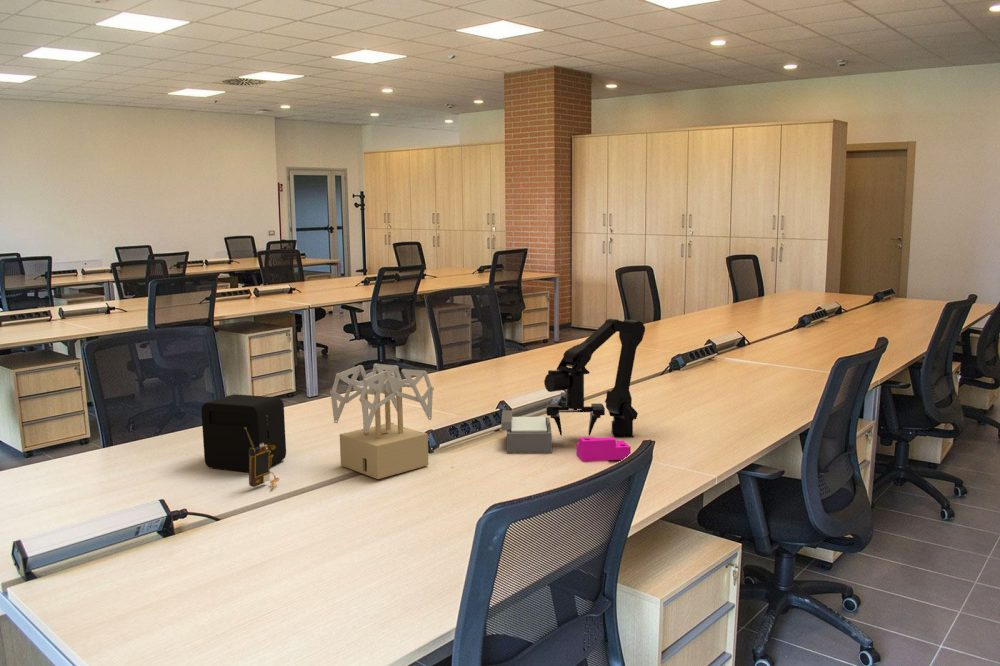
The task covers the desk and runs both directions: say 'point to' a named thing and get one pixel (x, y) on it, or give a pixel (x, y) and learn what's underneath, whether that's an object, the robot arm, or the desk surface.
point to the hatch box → (530, 441)
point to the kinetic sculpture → (387, 443)
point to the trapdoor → (522, 423)
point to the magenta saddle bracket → (601, 449)
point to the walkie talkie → (260, 464)
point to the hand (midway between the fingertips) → (575, 435)
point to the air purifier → (242, 430)
